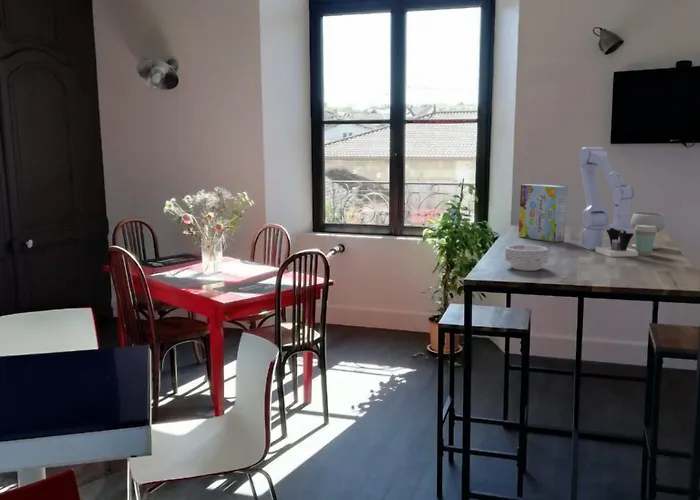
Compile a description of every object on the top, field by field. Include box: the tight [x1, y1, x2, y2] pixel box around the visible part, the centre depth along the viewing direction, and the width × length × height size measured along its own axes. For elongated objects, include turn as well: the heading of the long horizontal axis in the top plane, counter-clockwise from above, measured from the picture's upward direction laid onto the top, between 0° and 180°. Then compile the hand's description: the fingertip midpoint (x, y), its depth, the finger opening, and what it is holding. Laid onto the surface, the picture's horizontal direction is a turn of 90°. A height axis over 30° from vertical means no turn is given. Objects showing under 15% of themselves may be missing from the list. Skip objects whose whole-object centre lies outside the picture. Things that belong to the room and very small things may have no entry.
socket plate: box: [595, 246, 639, 258], centre depth 269 cm, size 12×12×2 cm
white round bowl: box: [504, 244, 549, 272], centre depth 237 cm, size 15×15×8 cm
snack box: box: [518, 183, 568, 243], centre depth 306 cm, size 22×9×26 cm, turn 34°
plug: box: [610, 239, 626, 251], centre depth 267 cm, size 4×4×6 cm
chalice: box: [630, 211, 667, 250], centre depth 285 cm, size 14×14×15 cm
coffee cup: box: [634, 225, 658, 257], centre depth 267 cm, size 8×8×12 cm
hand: (618, 248), depth 268 cm, fingers open, 7 cm apart
